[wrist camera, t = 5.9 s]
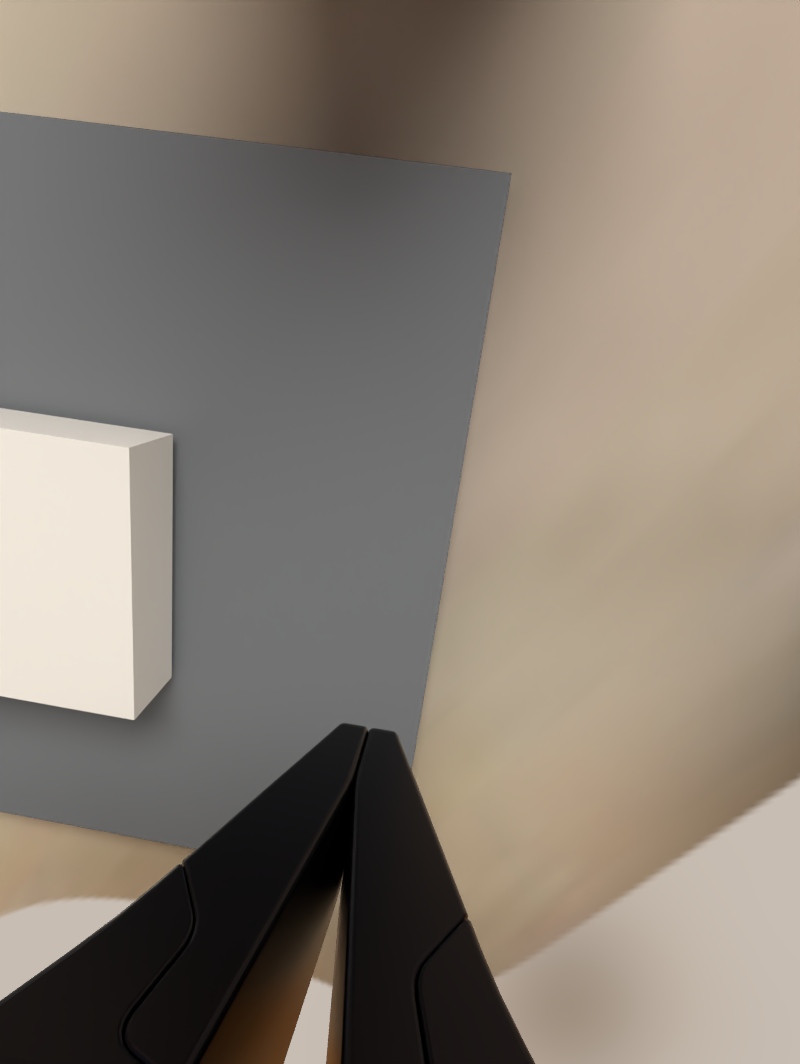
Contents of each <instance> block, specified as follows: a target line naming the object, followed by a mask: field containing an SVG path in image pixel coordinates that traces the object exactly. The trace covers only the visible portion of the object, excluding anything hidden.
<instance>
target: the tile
mask: <svg viewBox="0 0 800 1064" xmlns="http://www.w3.org/2000/svg"><path fill="white" fill-rule="evenodd" d="M172 515H173V434H170V433H163V432H157V431H150V430H143V429H137V428H130V427H123V426H117V425H110V424H103V423H97V422H90V421H84V420H77V419H70V418H64V417H57V416H50V415H44V414H37V413H30V412H24V411H17V410H11V409H4V408H0V696H3V697H8V698H14V699H19V700H25V701H30V702H36V703H42V704H47V705H53V706H58V707H64V708H69V709H75V710H80V711H86V712H91V713H97V714H103V715H108V716H114V717H119V718H125V719H130V720H135V719H136V718H137V717H138V715H139V714H140V713H141V712H142V711H143V710H144V709H145V707H146V706H147V705H148V704H149V703H150V702H151V700H152V699H153V698H154V697H155V696H156V695H157V694H158V692H159V691H160V690H161V689H162V688H163V687H164V686H165V684H166V683H167V682H168V681H169V680H170V679H171V678H172Z"/></svg>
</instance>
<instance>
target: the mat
mask: <svg viewBox="0 0 800 1064" xmlns="http://www.w3.org/2000/svg"><path fill="white" fill-rule="evenodd" d="M510 179H511V173H506V172H497V171H489V170H481V169H473V168H464V167H456V166H448V165H439V164H431V163H423V162H414V161H406V160H398V159H390V158H381V157H373V156H365V155H356V154H348V153H340V152H331V151H323V150H315V149H306V148H298V147H290V146H282V145H273V144H265V143H257V142H248V141H240V140H232V139H223V138H215V137H207V136H199V135H190V134H182V133H174V132H165V131H157V130H149V129H140V128H132V127H124V126H115V125H107V124H99V123H91V122H82V121H74V120H66V119H57V118H49V117H41V116H32V115H24V114H16V113H8V112H0V408H4V409H11V410H17V411H24V412H30V413H37V414H44V415H50V416H57V417H64V418H70V419H77V420H84V421H90V422H97V423H103V424H110V425H117V426H123V427H130V428H137V429H143V430H150V431H157V432H163V433H170V434H173V515H172V678H171V679H170V680H169V681H168V682H167V683H166V684H165V686H164V687H163V688H162V689H161V690H160V691H159V692H158V694H157V695H156V696H155V697H154V698H153V699H152V700H151V702H150V703H149V704H148V705H147V706H146V707H145V709H144V710H143V711H142V712H141V713H140V714H139V715H138V717H137V718H136V719H135V720H130V719H125V718H119V717H114V716H108V715H103V714H97V713H91V712H86V711H80V710H75V709H69V708H64V707H58V706H53V705H47V704H42V703H36V702H30V701H25V700H19V699H14V698H8V697H3V696H0V812H5V813H10V814H15V815H21V816H26V817H31V818H36V819H42V820H47V821H52V822H57V823H62V824H68V825H73V826H78V827H83V828H88V829H94V830H99V831H104V832H109V833H114V834H120V835H125V836H130V837H135V838H141V839H146V840H151V841H156V842H161V843H167V844H172V845H177V846H182V847H187V848H193V849H197V848H198V847H199V846H200V845H201V844H203V843H204V842H205V841H206V840H207V839H208V838H210V837H211V836H212V835H213V834H214V833H215V832H216V831H218V830H219V829H220V828H221V827H222V826H223V825H224V824H226V823H227V822H228V821H229V820H230V819H231V818H233V817H234V816H235V815H236V814H237V813H238V812H239V811H241V810H242V809H243V808H244V807H245V806H246V805H248V804H249V803H250V802H251V801H252V800H253V799H254V798H256V797H257V796H258V795H259V794H260V793H261V792H262V791H264V790H265V789H266V788H267V787H268V786H269V785H271V784H272V783H273V782H274V781H275V780H276V779H277V778H279V777H280V776H281V775H282V774H283V773H284V772H285V771H287V770H288V769H289V768H290V767H291V766H292V765H294V764H295V763H296V762H297V761H298V760H299V759H300V758H302V757H303V756H304V755H305V754H306V753H307V752H309V751H310V750H311V749H312V748H313V747H314V746H315V745H317V744H318V743H319V742H320V741H321V740H322V739H323V738H325V737H326V736H327V735H328V734H329V733H330V732H332V731H333V730H334V729H335V728H336V727H337V726H338V725H340V724H342V723H349V724H355V725H361V726H365V727H367V729H368V732H369V730H370V729H372V728H378V729H384V730H390V731H394V732H396V733H397V735H398V737H399V739H400V742H401V744H402V747H403V749H404V752H405V755H406V757H407V760H408V762H409V765H410V767H411V770H412V764H413V758H414V752H415V746H416V740H417V734H418V728H419V722H420V716H421V710H422V704H423V698H424V692H425V687H426V681H427V675H428V669H429V663H430V657H431V651H432V645H433V639H434V633H435V627H436V621H437V615H438V609H439V603H440V597H441V591H442V585H443V579H444V573H445V567H446V561H447V555H448V549H449V543H450V537H451V531H452V525H453V519H454V513H455V507H456V501H457V495H458V489H459V483H460V477H461V472H462V466H463V460H464V454H465V448H466V442H467V436H468V430H469V424H470V418H471V412H472V406H473V400H474V394H475V388H476V382H477V376H478V370H479V364H480V358H481V352H482V346H483V340H484V334H485V328H486V322H487V316H488V310H489V304H490V298H491V292H492V286H493V280H494V274H495V268H496V262H497V256H498V251H499V245H500V239H501V233H502V227H503V221H504V215H505V209H506V203H507V197H508V191H509V185H510Z"/></svg>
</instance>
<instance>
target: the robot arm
mask: <svg viewBox="0 0 800 1064" xmlns="http://www.w3.org/2000/svg"><path fill="white" fill-rule="evenodd" d="M342 878H343V880H342ZM341 882H342V888H341V897H340V906H339V917H338V929H337V941H336V953H335V965H334V977H333V989H332V1001H331V1013H330V1025H329V1037H328V1048H327V1061H326V1064H535V1063H534V1060H533V1058H532V1057H531V1055H530V1053H529V1051H528V1049H527V1047H526V1045H525V1043H524V1041H523V1039H522V1037H521V1035H520V1033H519V1031H518V1029H517V1027H516V1025H515V1023H514V1021H513V1019H512V1017H511V1015H510V1013H509V1011H508V1009H507V1007H506V1005H505V1003H504V1001H503V999H502V996H501V994H500V992H499V990H498V987H497V985H496V983H495V980H494V978H493V976H492V973H491V971H490V969H489V966H488V964H487V962H486V959H485V957H484V955H483V952H482V950H481V947H480V945H479V942H478V939H477V937H476V934H475V932H474V929H473V927H472V924H471V922H470V921H469V920H468V915H467V912H466V909H465V907H464V904H463V902H462V899H461V896H460V894H459V891H458V889H457V886H456V884H455V881H454V878H453V876H452V873H451V871H450V868H449V865H448V863H447V860H446V858H445V855H444V853H443V850H442V847H441V845H440V842H439V840H438V837H437V834H436V832H435V829H434V827H433V824H432V822H431V819H430V816H429V814H428V811H427V809H426V806H425V804H424V801H423V798H422V796H421V793H420V791H419V788H418V785H417V783H416V780H415V778H414V775H413V773H412V770H411V767H410V765H409V762H408V760H407V757H406V755H405V752H404V749H403V747H402V744H401V742H400V739H399V737H398V735H397V733H396V732H394V731H390V730H384V729H378V728H372V729H370V730H369V732H368V729H367V727H365V726H361V725H355V724H349V723H342V724H340V725H338V726H337V727H336V728H335V729H334V730H333V731H332V732H330V733H329V734H328V735H327V736H326V737H325V738H323V739H322V740H321V741H320V742H319V743H318V744H317V745H315V746H314V747H313V748H312V749H311V750H310V751H309V752H307V753H306V754H305V755H304V756H303V757H302V758H300V759H299V760H298V761H297V762H296V763H295V764H294V765H292V766H291V767H290V768H289V769H288V770H287V771H285V772H284V773H283V774H282V775H281V776H280V777H279V778H277V779H276V780H275V781H274V782H273V783H272V784H271V785H269V786H268V787H267V788H266V789H265V790H264V791H262V792H261V793H260V794H259V795H258V796H257V797H256V798H254V799H253V800H252V801H251V802H250V803H249V804H248V805H246V806H245V807H244V808H243V809H242V810H241V811H239V812H238V813H237V814H236V815H235V816H234V817H233V818H231V819H230V820H229V821H228V822H227V823H226V824H224V825H223V826H222V827H221V828H220V829H219V830H218V831H216V832H215V833H214V834H213V835H212V836H211V837H210V838H208V839H207V840H206V841H205V842H204V843H203V844H201V845H200V846H199V847H198V848H197V849H196V850H195V851H193V852H192V853H191V854H190V855H189V856H188V857H187V858H185V859H184V860H183V862H182V865H180V864H179V865H177V866H176V867H175V868H173V869H172V870H171V871H170V872H169V873H168V874H167V875H165V876H164V877H163V878H162V879H161V880H160V881H158V882H157V883H156V884H155V885H154V886H153V887H151V888H150V889H149V890H148V891H147V892H145V893H144V894H143V895H142V896H140V897H139V898H138V899H137V900H136V901H134V902H133V903H132V904H131V905H130V906H128V907H127V908H126V909H125V910H123V911H122V912H121V913H120V914H119V915H117V916H116V917H115V918H113V919H112V920H111V921H109V922H108V923H107V924H105V925H104V926H103V927H101V928H100V929H99V930H97V931H96V932H95V933H93V934H92V935H91V936H90V937H88V938H87V939H86V940H84V941H83V942H81V943H80V944H79V945H77V946H76V947H75V948H73V949H72V950H71V951H69V952H68V953H66V954H65V955H64V956H62V957H61V958H59V959H58V960H57V961H55V962H54V963H52V964H51V965H50V966H49V967H47V968H45V969H44V970H43V971H41V972H40V973H39V974H37V975H36V976H34V977H33V978H31V979H30V980H29V981H27V982H26V983H24V984H23V985H22V986H20V987H19V988H17V989H16V990H15V991H13V992H12V993H11V994H9V995H8V996H7V997H5V998H4V999H2V1000H1V1001H0V1064H284V1061H285V1057H286V1054H287V1051H288V1048H289V1045H290V1042H291V1039H292V1036H293V1033H294V1030H295V1027H296V1024H297V1021H298V1018H299V1015H300V1011H301V1008H302V1005H303V1002H304V999H305V996H306V993H307V990H308V987H309V984H310V981H311V978H312V975H313V972H314V968H315V965H316V962H317V959H318V956H319V953H320V950H321V947H322V944H323V941H324V938H325V935H326V932H327V929H328V926H329V922H330V919H331V916H332V913H333V910H334V907H335V904H336V900H337V897H338V894H339V890H340V886H341Z"/></svg>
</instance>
